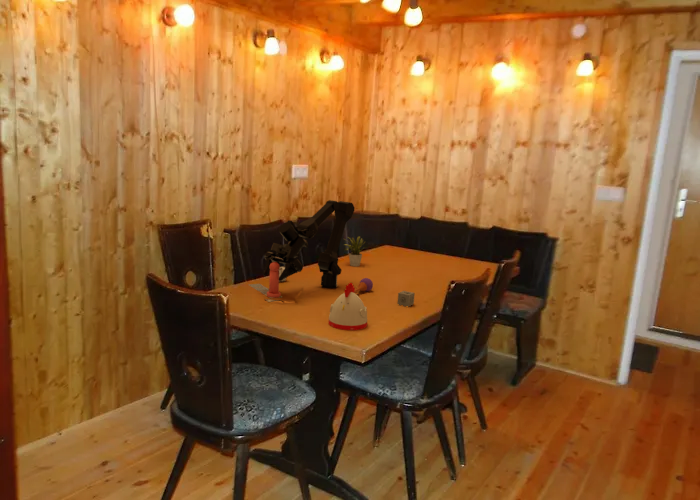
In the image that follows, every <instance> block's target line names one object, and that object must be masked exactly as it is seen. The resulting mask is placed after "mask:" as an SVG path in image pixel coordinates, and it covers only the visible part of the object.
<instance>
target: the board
mask: <svg viewBox="0 0 700 500" xmlns="http://www.w3.org/2000/svg"><path fill="white" fill-rule="evenodd" d="M248 286H249V287H251V288H253V289H254V290H256V291H257V292H259V293H261V294H263V295H265V296H266V297H267V292H268V291H269V288H268V287H266V286H264V285H263V284H262V283H251V284H248ZM268 298H270V299H266V298H264V300H265V301H266V302H268V303H269V302H271V303H273V302H279V301H283V300H280V299H272V298H271V297H268ZM279 298H283V296H282V295H281V296H280V297H279Z"/></svg>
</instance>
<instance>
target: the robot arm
mask: <svg viewBox="0 0 700 500" xmlns="http://www.w3.org/2000/svg"><path fill="white" fill-rule="evenodd" d="M354 212H355V205H354V203H353V202H350V201H344V200H343V201H342V200H339V201H337V200H331V199H329V200H327V201H326V202H325V204H323V206H322V207H320V209H319V210H318V211H317V212H316V213H314V214H313V216H311V217H310V218H308V219H305V220H303V221H302V222H300V223H299V224H297V226H296V225H295V223H294V221H292V220H287V221H286V222H284V223H282V224H281V225H279V227H278V232H279V233H280V235H281V236H282V237H283V239H284V240H285V241H287V242H288V243H283V244H281V243H275V242H272V243H273V244H272V245H271V248H270V251H266V252H265V254H264V255H263V257H264V259H265V261H266V265H265V268H264V272H263V276H264V277H266V276H268V275H270V268H269V266H270V264H271V263H272V262H277V263H278V264H279V265H280V264H283V265H284V266H285V269H284V271H283V272H282V274H281V275H280V277H279V281H281V280H283V279H285V278H286V277H287V278H288V277H290V276H292V275H295V274H297V273H301V272H302V271H303V269H304V265H303V264H302V262H300V260H299V256H300V255H299V253H300V251H301V250H302V249H303V247H305V248H309V244H308V240H306V239H313V238H314V236H315V235H316V234H317V233H318V230H319V227H320V226H321V224H323V223H324V222H325V221H326V220H327V219H328V218H329V217H330V216H331V215H332V214H333V213H334V217H335V221H334V224H333V227H332V229H331V234H330V236H329V239H328V243H327V246H326V249H325V250H324V251H322V252H321V251H320V253H319V257H318V258H317V261H318V262H317V266H318V269H319V272H320V273H322V275H321V277H320V286H321V288H322V289H323V288H324V289H337V287H338V276H339V275H341V273H342V268H341V267H340V265H339V264H338V263H339V257H338V251H339V248H340V244H341V240H342V238H343V234H344V230H345V228H346V225H347V222H348V221H349V220H350V219H352V217H353V215H354ZM271 251H272V252H271ZM287 278H286V279H287Z"/></svg>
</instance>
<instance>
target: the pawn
mask: <svg viewBox="0 0 700 500" xmlns="http://www.w3.org/2000/svg"><path fill="white" fill-rule="evenodd" d="M280 267H281V265H280V263H279V264H278V263H277V262H272V263H271V264H270V266H269V268H270V273H269V281H268V283H269V286H268V287H269V288H268V289H269V291H268V290H267V291H268V292H267V294H266V295H267V296H266V297H268V298H269V297H271V298H270V299H277V298H281V297H280V296H282V295H281V294H282V292H281V291H280V290H279V289H280V287H279V286H280V282H279V269H280Z"/></svg>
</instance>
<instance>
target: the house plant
mask: <svg viewBox="0 0 700 500" xmlns="http://www.w3.org/2000/svg"><path fill="white" fill-rule="evenodd" d="M347 238H348V239H349V240H350V243H349V244H346V243H344V244H343V246H346V251H348V250H350V252H349V253H348V258H349V266H351V267H361V266H360V265H361V262H362V257H363V254H362V253H360V252H362V250H363V249H367V248H368V247H363V248H361V247H362V246H363V245H364V244H365V243H366V241H364V240H363V238H361V236H359V235H358V236H357V238H356V240H355V238H354V237H349V236H347ZM344 240H345V241H347V239H345V238H344Z"/></svg>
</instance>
